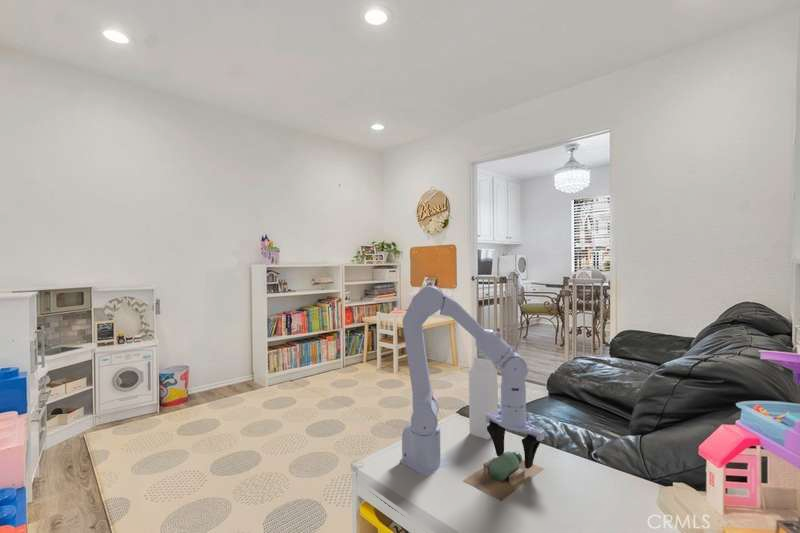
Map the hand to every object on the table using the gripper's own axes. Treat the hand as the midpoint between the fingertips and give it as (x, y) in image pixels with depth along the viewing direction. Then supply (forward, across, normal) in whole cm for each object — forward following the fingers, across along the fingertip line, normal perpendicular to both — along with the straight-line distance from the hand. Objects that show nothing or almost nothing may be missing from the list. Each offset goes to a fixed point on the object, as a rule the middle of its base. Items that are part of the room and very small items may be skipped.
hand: (514, 460), depth 89 cm
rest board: (+2, 0, +4) cm, 5 cm away
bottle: (0, 0, +8) cm, 8 cm away
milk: (+2, +16, -10) cm, 19 cm away
